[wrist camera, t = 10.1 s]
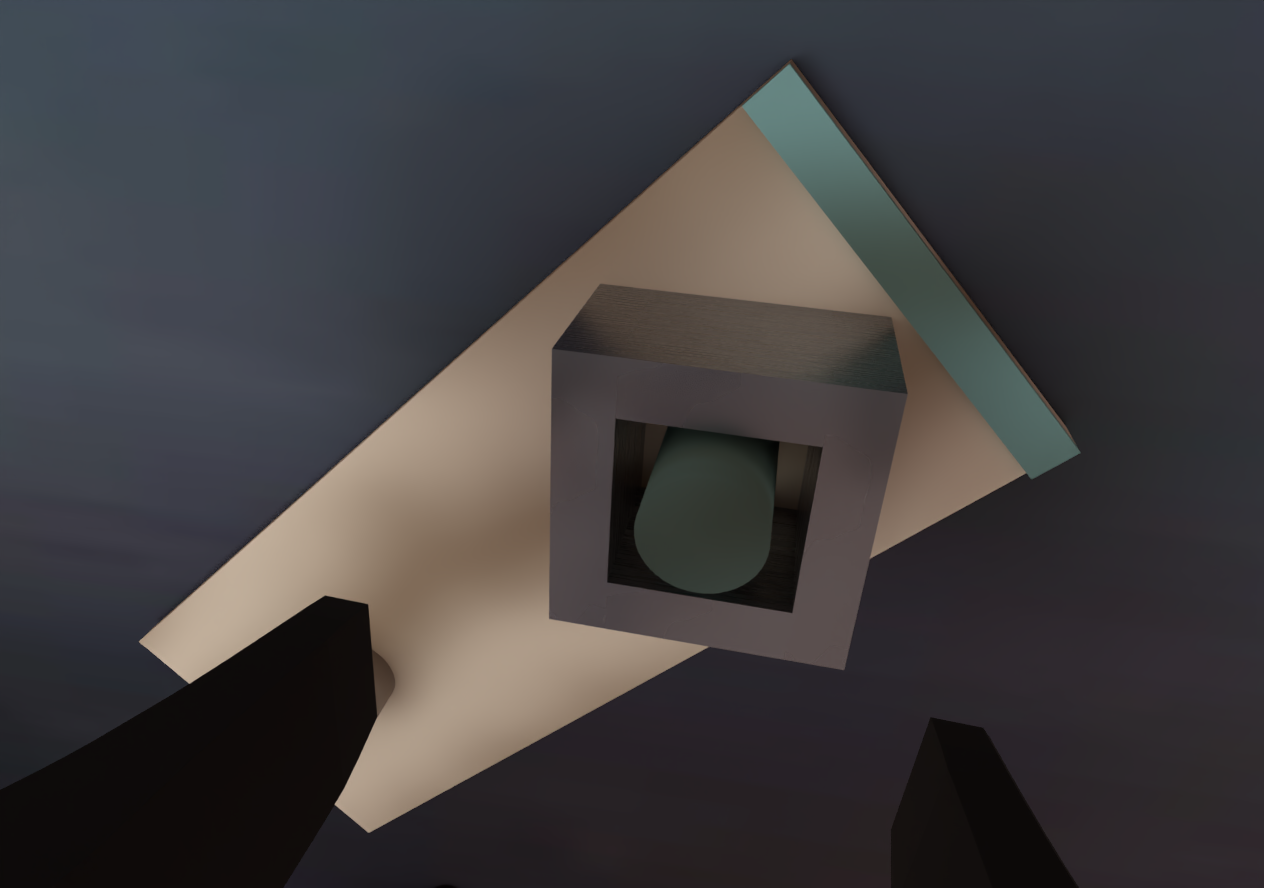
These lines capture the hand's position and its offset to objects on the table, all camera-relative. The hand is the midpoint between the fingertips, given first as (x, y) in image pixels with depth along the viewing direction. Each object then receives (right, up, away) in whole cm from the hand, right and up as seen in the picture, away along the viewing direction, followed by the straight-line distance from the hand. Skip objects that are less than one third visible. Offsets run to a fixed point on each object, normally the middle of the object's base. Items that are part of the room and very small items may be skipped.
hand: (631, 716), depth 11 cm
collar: (+2, +4, +7) cm, 8 cm away
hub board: (-3, +1, +10) cm, 11 cm away
